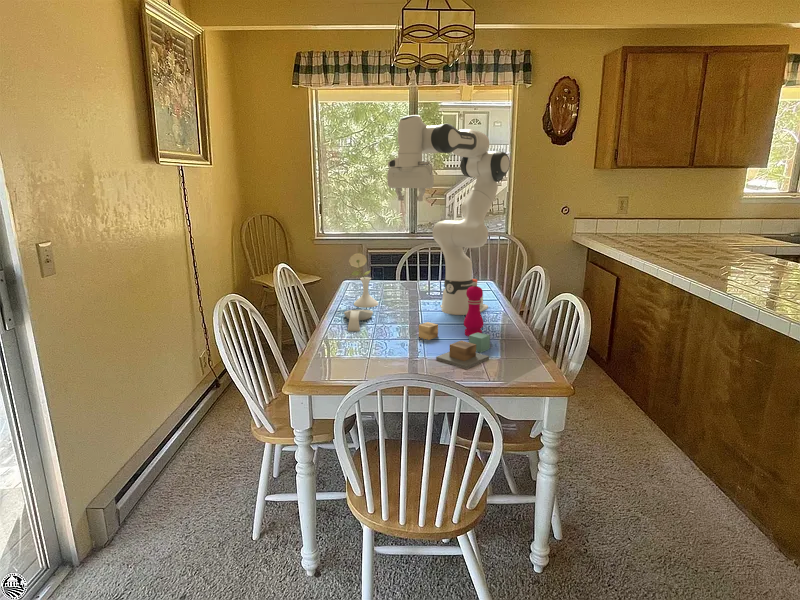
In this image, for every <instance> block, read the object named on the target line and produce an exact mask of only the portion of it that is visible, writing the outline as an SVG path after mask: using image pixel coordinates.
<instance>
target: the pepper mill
mask: <svg viewBox="0 0 800 600" xmlns="http://www.w3.org/2000/svg"><path fill="white" fill-rule="evenodd" d="M472 285H473V286H471V287H469V288H468V289H467V292H466V295H467V297H468V298H469V299H468V302H467V303H468V304H469V309H468V313H467V315H465V317H464V319H463V326H464V328H465V329H464V335H465V336H467V337H468V338H469V335H472V334H474V333H477V332H479V333H483V331H482V330H483V329H482V328H483V327H484V320H483V316H482V314H481V313H482V312H480V304H481V297H482V296H484V291H483V289H482V288H481V287H480V286H478V282H477V283H476V282H473V284H472Z"/></svg>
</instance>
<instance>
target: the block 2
mask: <svg viewBox="0 0 800 600" xmlns="http://www.w3.org/2000/svg"><path fill="white" fill-rule="evenodd" d="M490 339H491V334H490V335H489V334H487V333H483V332H482V333H479V332H477V333H474V334H472V335H469V337H468V342H469V343H473V344H476V353H480V354H482V353H483V352H485V351H488V350H490V348H491V347H490V343H491V342H490V341H491V340H490Z"/></svg>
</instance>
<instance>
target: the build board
mask: <svg viewBox="0 0 800 600" xmlns="http://www.w3.org/2000/svg"><path fill="white" fill-rule="evenodd" d="M449 353H450V351H448V352H444V353H442V354H439V355H437V356H436V357H435V359H436V360H437V361H438V362H439V361H440V362H443V363H445V364H449V365H453V366H456V367H459V368H462V369H466V370H468V369H470V368H473V367H475V366H477V365H479V364H481V363H483V362H485V361H487V360H489V359H490V356H489V355H486V354H483V353H480V352H476V356H475V357H473V358H471V359H468V360H466V361H463V360H459V359H456V358H453V357H449Z"/></svg>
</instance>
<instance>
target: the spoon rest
mask: <svg viewBox="0 0 800 600" xmlns="http://www.w3.org/2000/svg"><path fill="white" fill-rule="evenodd" d="M343 314H344V316H345V318H347V319H348V324H347V331H349V332H353V331H354V332H355V331H357V332H360V331H361V327H360V321H367V320H369V319H370V318H371V317H372V316H373V314H374V311H373V310H370V309H349V310H346V311H344V313H343Z"/></svg>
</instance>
